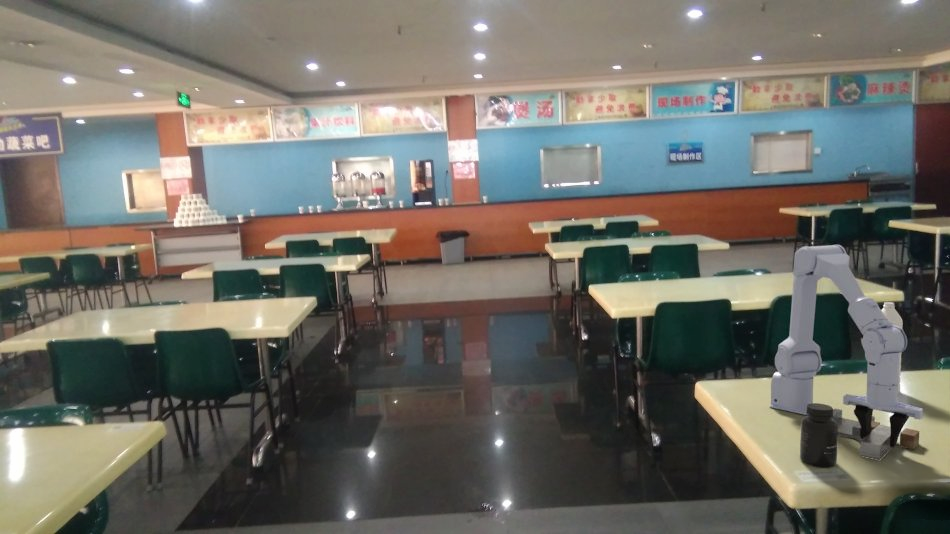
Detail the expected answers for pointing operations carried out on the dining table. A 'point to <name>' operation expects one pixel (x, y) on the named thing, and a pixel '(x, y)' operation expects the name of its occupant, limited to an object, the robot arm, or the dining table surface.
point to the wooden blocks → (904, 436)
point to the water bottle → (897, 321)
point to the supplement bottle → (819, 436)
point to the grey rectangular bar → (876, 443)
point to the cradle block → (848, 426)
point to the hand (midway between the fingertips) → (880, 442)
